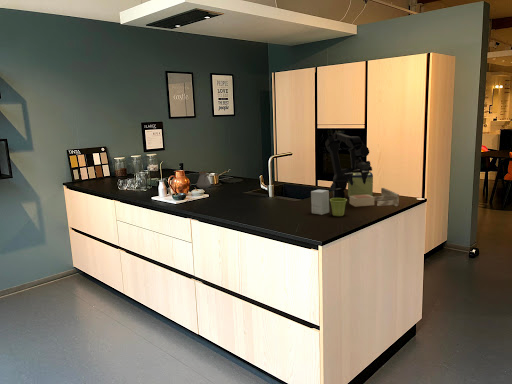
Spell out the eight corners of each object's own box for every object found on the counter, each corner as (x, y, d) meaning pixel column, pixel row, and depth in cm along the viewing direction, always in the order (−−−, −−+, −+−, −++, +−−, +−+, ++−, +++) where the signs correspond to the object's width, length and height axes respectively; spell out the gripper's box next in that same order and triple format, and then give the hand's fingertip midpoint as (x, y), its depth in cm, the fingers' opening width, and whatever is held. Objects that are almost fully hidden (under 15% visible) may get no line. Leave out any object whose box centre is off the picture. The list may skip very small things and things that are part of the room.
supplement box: (329, 212, 236) (329, 190, 234) (321, 215, 231) (321, 192, 229) (318, 210, 241) (318, 189, 239) (311, 213, 236) (310, 191, 234)
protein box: (373, 198, 266) (373, 174, 263) (347, 199, 269) (347, 175, 266) (372, 195, 276) (372, 172, 273) (347, 195, 279) (347, 172, 276)
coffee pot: (194, 188, 337) (192, 169, 334) (206, 186, 344) (205, 168, 341) (207, 191, 320) (206, 171, 318) (220, 189, 327) (219, 170, 324)
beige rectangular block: (355, 207, 247) (355, 198, 246) (349, 203, 256) (349, 195, 255) (374, 205, 249) (374, 197, 248) (368, 202, 258) (368, 194, 257)
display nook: (380, 207, 242) (380, 195, 241) (366, 199, 264) (366, 188, 262) (398, 206, 243) (398, 194, 242) (383, 198, 265) (383, 187, 263)
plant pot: (343, 212, 234) (343, 197, 233) (349, 216, 225) (349, 200, 223) (327, 213, 233) (327, 198, 231) (333, 217, 224) (333, 201, 222)
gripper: (351, 157, 234) (354, 185, 235) (377, 155, 242) (380, 182, 243) (339, 159, 244) (342, 186, 245) (364, 157, 252) (367, 183, 253)
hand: (358, 184), depth 246 cm, fingers open, 9 cm apart
